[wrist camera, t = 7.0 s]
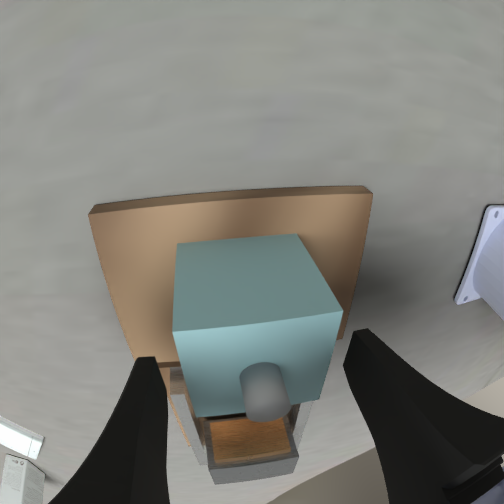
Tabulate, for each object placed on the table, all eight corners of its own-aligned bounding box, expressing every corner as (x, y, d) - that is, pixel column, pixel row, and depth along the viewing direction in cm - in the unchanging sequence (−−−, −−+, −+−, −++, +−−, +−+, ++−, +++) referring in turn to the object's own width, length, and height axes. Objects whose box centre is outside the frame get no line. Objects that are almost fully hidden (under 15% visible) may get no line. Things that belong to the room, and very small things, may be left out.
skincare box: (5, 452, 24) (-5, 522, 14) (28, 459, 25) (20, 532, 15) (24, 468, 27) (18, 532, 17) (46, 474, 28) (41, 540, 18)
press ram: (286, 406, 20) (300, 453, 17) (281, 432, 23) (292, 473, 19) (202, 417, 19) (207, 467, 16) (209, 441, 22) (215, 484, 18)
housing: (296, 233, 13) (363, 346, 8) (288, 319, 16) (330, 428, 10) (177, 243, 12) (171, 374, 7) (191, 331, 15) (199, 450, 10)
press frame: (362, 185, 14) (392, 208, 11) (308, 424, 25) (316, 447, 23) (94, 205, 12) (75, 233, 10) (177, 441, 23) (179, 466, 21)
